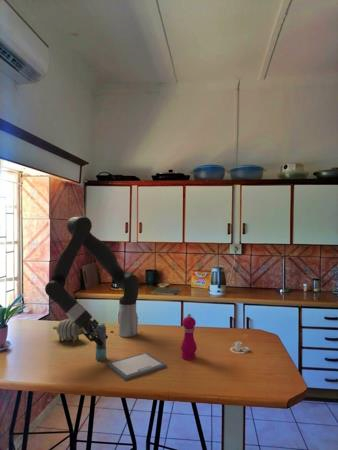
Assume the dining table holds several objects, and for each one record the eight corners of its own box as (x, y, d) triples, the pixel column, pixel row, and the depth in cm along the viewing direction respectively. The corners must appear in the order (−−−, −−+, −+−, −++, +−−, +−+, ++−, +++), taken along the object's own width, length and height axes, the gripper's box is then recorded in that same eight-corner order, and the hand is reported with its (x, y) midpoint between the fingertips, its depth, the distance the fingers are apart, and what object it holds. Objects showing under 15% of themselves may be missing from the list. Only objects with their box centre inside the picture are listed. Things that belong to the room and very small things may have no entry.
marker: (103, 355, 147) (103, 321, 147) (107, 359, 143) (108, 324, 143) (93, 358, 144) (94, 323, 144) (98, 361, 140) (98, 326, 140)
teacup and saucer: (251, 351, 155) (251, 343, 155) (242, 356, 149) (242, 347, 149) (235, 346, 161) (235, 338, 161) (226, 350, 155) (226, 342, 155)
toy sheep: (79, 345, 159) (80, 323, 159) (47, 343, 160) (47, 321, 160) (87, 337, 169) (87, 316, 169) (57, 336, 171) (57, 315, 171)
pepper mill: (198, 355, 148) (198, 312, 148) (194, 361, 141) (194, 316, 141) (183, 353, 150) (183, 310, 150) (178, 359, 144) (179, 315, 143)
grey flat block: (146, 354, 149) (146, 350, 149) (166, 367, 136) (166, 362, 136) (106, 365, 137) (106, 361, 136) (125, 380, 124) (125, 376, 124)
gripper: (79, 314, 137) (106, 342, 136) (89, 305, 151) (113, 330, 150) (67, 326, 137) (93, 354, 136) (78, 316, 151) (102, 341, 151)
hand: (104, 341), depth 143 cm, fingers open, 7 cm apart
